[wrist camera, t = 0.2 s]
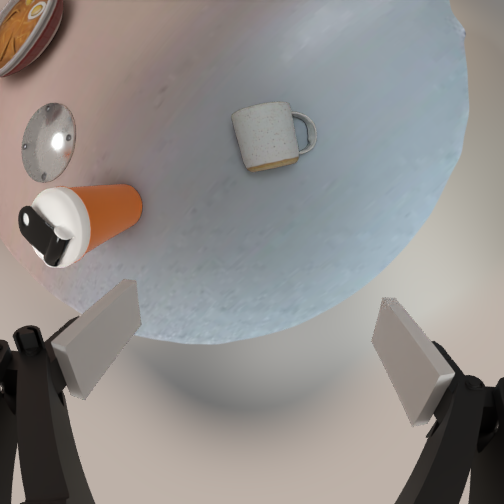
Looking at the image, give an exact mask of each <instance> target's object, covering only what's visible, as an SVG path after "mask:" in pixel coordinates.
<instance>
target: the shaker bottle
mask: <svg viewBox="0 0 504 504" xmlns="http://www.w3.org/2000/svg"><path fill="white" fill-rule="evenodd" d="M141 213H142V201H141V198H140V195H139V194H138V192H137V191H136V190H135V189H134V188H133V187H131V186H129V185H126V184H115V185H98V186H83V187H71V188H68V187H64V186H59V187H55V188H49V189H46V190H44V191H42V192H41V193H40V194H38V196H37V197H36V198H35V200H34V202H33V204H32V206H25V207H23V208H22V209H21V210H20V212H19V217H18V222H19V228H20V231H21V233H22V235H23V236H24V237H25V238H26V239H27V241H28V242H29V243H30V244H31V245H32V247H33V249H34V250H35V252H36V253H37V255H38V256H39V257H40V258H41V259H42V260H43V261H44V262H45V264H46V265H48V266H49V267H52V268H55V267H58V268H63V267H67V266H69V265H70V264H72V263H75V262H77V261H78V260H80V259H81V258H82V257H83V256H84V255H85V254H86V253H87V252H89V251H91V250H92V249H94V248H96V247H97V246H99V245H100V244H102V243H104V242H105V241H107V240H109V239H110V238H112V237H114V236H116V235H117V234H119V233H121V232H122V231H124V230H126V229H128V228H129V227H131V226H133V225H134V224H135V223H136V222H137V221H138V220H139V218H140V216H141Z"/></svg>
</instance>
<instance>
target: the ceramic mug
mask: <svg viewBox="0 0 504 504" xmlns="http://www.w3.org/2000/svg"><path fill="white" fill-rule="evenodd" d="M292 116H294V117H297V118H300V119H301V120H303V121H304V122H305V123H306V125H307V129H308V141H309V143H308V145H307V147H306V148H305V149H303V150H301V151H299V148H298V143H297V138H296V134H295V128H294V122H293V118H292ZM231 118H232V122H233V125H234V129H235V133H236V136H237V140H238V143H239V147H240V151H241V155H242V159H243V162H244V164H245V166H246V168H247V170H249V171H250V172H256V171H262V170H267V169H272V168H276V167H281V166H285V165H290V164H294V163H296V162H297V161H298V159H299V154H303V153H306V152H308V151H310V150H311V149H312V148H313V147H314V145H315V143H316V140H317V132H316V127H315V124H314V123H313V121H312V120H311V119H310V118H309V117H308V116H306V115H304V114H302V113H299V112H293V111H291V107H290V104H289V103H287V102H268V103H263V104H258V105H254V106H250V107H246V108H243V109H240V110H238V111H237V112H235V113H233V114H232V116H231Z"/></svg>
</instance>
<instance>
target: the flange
mask: <svg viewBox="0 0 504 504" xmlns="http://www.w3.org/2000/svg"><path fill="white" fill-rule="evenodd" d="M75 139H76V128H75V122H74V118H73V116H72V113H71V112H70V110H69V109H68V108H67V107H66V106H64V105H62V104H58V103H49V104H46V105H44V106H43V107H41V108H40V109H39V110H38V111H37V112H36V113H35V114H34V115H33V116H32V118H31V119H30V121H29V123H28V125H27V127H26V130H25V132H24V136H23V141H22V160H23V164H24V167H25V170H26V172H27V173H28V175H29V176H30V177H31V178H32V179H33V180H35V181H37V182H49V181H52V180H54V179H56V178H57V177H58V176H59V175H60V174H61V173H62V172H63V171H64V170H65V168H66V167H67V165H68V163H69V161H70V159H71V156H72V154H73V150H74V146H75Z"/></svg>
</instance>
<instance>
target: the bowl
mask: <svg viewBox="0 0 504 504" xmlns="http://www.w3.org/2000/svg"><path fill="white" fill-rule="evenodd" d="M62 14H63V0H10V1H9V2H8V3H7V4H6V5H5V7H4V8H3V9H2V10H1V12H0V77H5V76H8V75H11V74H13V73H16V72H18V71H20V70H22V69H23V68H25V67H26V66H28V65H29V64H31V63H32V62H33V61H34V60H36V59H37V58H38V57H39V56H40V55H41V54H42V52H43V51H44V50H45V49H46V48H47V46H48V45H49V43H50V42H51V40H52V39H53V37H54V35H55V34H56V32H57V30H58V28H59V25H60V22H61V19H62Z"/></svg>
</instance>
